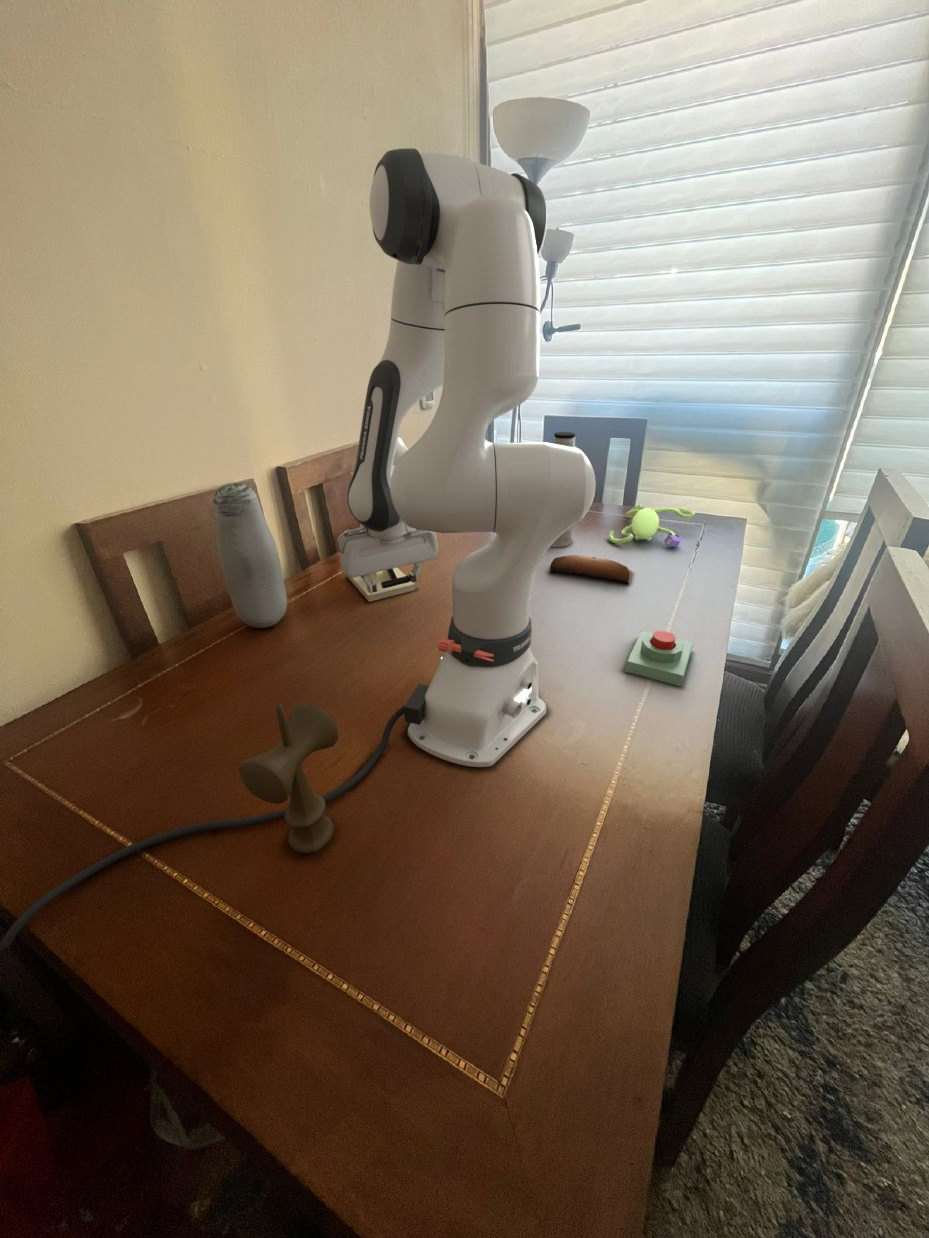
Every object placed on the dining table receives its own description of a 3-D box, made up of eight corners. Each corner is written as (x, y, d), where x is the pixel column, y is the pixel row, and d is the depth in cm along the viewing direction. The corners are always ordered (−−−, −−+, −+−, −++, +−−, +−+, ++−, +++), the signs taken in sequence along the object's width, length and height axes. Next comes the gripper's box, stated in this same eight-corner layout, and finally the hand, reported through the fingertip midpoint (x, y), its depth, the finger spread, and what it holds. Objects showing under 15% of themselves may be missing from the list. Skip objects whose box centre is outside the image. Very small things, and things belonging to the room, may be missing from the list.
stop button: (671, 652, 86) (673, 644, 85) (649, 647, 87) (651, 638, 86) (675, 642, 88) (677, 633, 88) (653, 637, 90) (655, 628, 89)
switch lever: (409, 584, 110) (410, 578, 109) (382, 591, 108) (384, 584, 106) (386, 538, 116) (387, 531, 114) (360, 544, 113) (361, 537, 111)
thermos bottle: (551, 549, 134) (560, 437, 120) (535, 539, 140) (541, 431, 126) (577, 544, 137) (588, 434, 122) (560, 534, 143) (568, 428, 129)
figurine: (694, 524, 148) (698, 505, 146) (676, 556, 129) (681, 535, 126) (629, 514, 156) (632, 496, 154) (604, 543, 137) (606, 523, 134)
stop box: (680, 686, 84) (685, 666, 82) (625, 671, 87) (628, 652, 85) (690, 653, 92) (695, 634, 90) (639, 640, 96) (642, 622, 94)
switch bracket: (415, 589, 115) (412, 540, 109) (369, 602, 110) (362, 550, 104) (391, 567, 125) (387, 521, 120) (348, 577, 121) (341, 530, 115)
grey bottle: (236, 618, 105) (197, 481, 91) (287, 606, 109) (258, 474, 95) (242, 641, 97) (201, 496, 83) (296, 627, 101) (267, 487, 87)
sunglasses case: (632, 569, 121) (634, 551, 116) (627, 593, 118) (629, 577, 113) (557, 558, 127) (555, 541, 122) (550, 581, 124) (548, 565, 119)
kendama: (356, 812, 63) (332, 682, 53) (309, 881, 56) (271, 745, 45) (314, 798, 65) (284, 670, 55) (264, 864, 57) (218, 729, 47)
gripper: (341, 537, 94) (351, 604, 100) (440, 517, 103) (442, 580, 110) (330, 527, 98) (340, 592, 105) (425, 509, 108) (429, 570, 114)
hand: (393, 586), depth 107 cm, fingers open, 8 cm apart
